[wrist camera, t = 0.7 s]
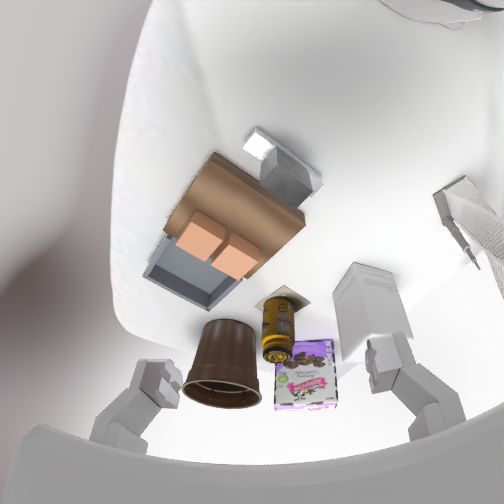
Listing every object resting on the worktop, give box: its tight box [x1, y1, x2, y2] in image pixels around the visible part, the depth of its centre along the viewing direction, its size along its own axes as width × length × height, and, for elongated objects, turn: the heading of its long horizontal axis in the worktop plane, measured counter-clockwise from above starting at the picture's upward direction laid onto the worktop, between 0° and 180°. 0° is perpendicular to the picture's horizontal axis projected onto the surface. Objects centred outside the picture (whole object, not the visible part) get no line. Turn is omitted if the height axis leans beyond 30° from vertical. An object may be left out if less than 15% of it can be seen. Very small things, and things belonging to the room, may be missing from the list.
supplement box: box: [333, 263, 414, 363], centre depth 45 cm, size 9×9×15 cm
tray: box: [142, 233, 243, 311], centre depth 48 cm, size 11×14×4 cm
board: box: [163, 152, 306, 279], centre depth 42 cm, size 14×16×3 cm
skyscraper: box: [433, 175, 504, 299], centre depth 26 cm, size 8×8×28 cm
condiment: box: [255, 286, 310, 364], centre depth 51 cm, size 7×8×12 cm
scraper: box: [243, 127, 323, 209], centre depth 33 cm, size 3×11×9 cm, turn 54°
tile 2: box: [175, 210, 226, 262], centre depth 40 cm, size 5×5×3 cm
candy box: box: [274, 339, 338, 412], centre depth 59 cm, size 14×6×16 cm, turn 98°
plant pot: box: [182, 319, 262, 409], centre depth 57 cm, size 16×16×16 cm
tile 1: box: [211, 232, 259, 281], centre depth 42 cm, size 5×5×3 cm
